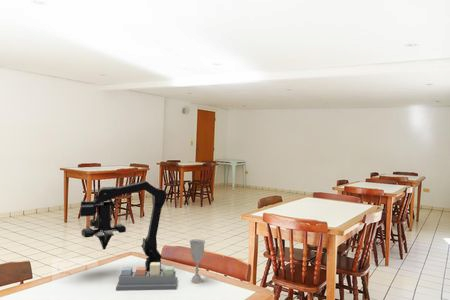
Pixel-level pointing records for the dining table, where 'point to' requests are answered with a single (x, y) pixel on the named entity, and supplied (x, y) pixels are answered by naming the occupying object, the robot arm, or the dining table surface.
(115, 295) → the dining table surface
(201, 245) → the chalice
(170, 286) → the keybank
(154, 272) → the block
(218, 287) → the dining table surface
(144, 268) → the peach rectangular block
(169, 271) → the key sage
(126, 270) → the key blue
